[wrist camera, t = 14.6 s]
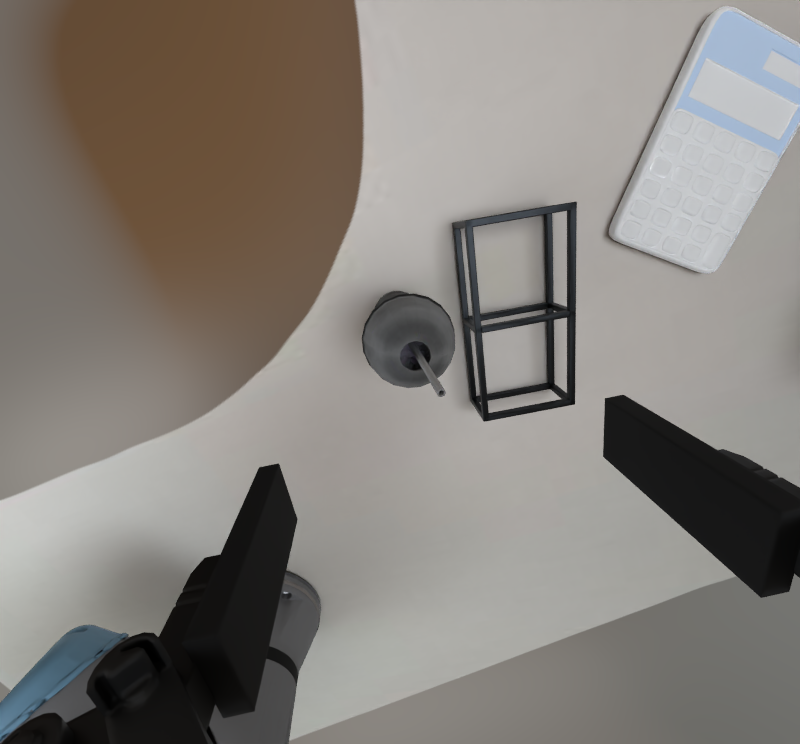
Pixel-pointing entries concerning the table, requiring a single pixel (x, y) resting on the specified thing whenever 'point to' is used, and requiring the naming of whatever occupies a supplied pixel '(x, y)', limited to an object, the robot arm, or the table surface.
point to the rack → (519, 312)
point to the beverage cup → (409, 340)
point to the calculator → (713, 143)
